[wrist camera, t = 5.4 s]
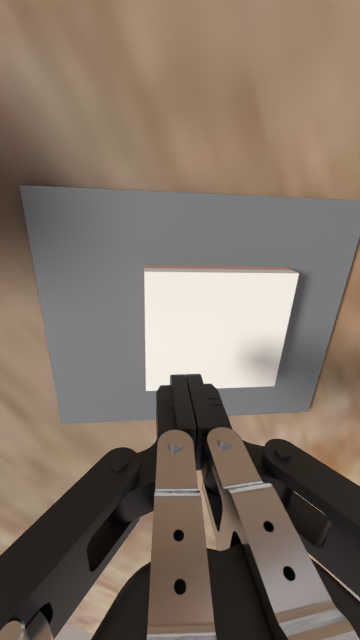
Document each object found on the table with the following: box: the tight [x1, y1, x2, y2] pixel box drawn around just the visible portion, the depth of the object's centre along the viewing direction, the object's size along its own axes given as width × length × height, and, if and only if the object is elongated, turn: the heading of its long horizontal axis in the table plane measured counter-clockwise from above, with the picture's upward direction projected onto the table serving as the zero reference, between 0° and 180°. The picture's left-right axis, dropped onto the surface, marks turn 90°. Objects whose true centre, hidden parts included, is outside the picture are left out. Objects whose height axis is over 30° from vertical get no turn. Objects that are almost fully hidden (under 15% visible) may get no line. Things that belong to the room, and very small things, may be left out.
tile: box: [144, 265, 299, 391], centre depth 20 cm, size 9×2×10 cm
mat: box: [19, 185, 360, 424], centre depth 21 cm, size 18×22×1 cm
